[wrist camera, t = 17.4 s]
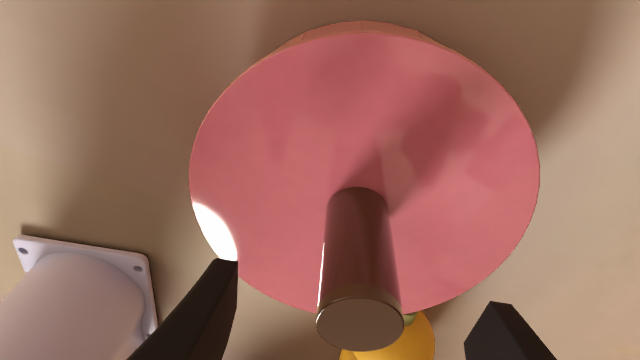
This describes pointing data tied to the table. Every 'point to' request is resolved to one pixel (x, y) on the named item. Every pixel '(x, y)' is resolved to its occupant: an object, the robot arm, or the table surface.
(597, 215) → the table surface
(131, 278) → the robot arm
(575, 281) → the table surface
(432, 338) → the yellow rounded oblong piece
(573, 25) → the table surface
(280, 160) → the lid
